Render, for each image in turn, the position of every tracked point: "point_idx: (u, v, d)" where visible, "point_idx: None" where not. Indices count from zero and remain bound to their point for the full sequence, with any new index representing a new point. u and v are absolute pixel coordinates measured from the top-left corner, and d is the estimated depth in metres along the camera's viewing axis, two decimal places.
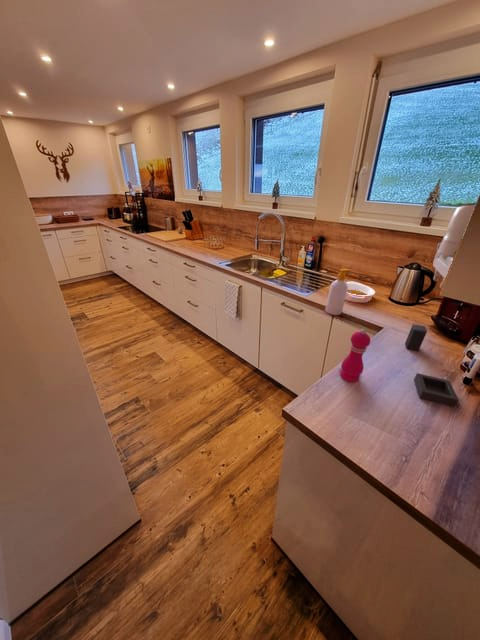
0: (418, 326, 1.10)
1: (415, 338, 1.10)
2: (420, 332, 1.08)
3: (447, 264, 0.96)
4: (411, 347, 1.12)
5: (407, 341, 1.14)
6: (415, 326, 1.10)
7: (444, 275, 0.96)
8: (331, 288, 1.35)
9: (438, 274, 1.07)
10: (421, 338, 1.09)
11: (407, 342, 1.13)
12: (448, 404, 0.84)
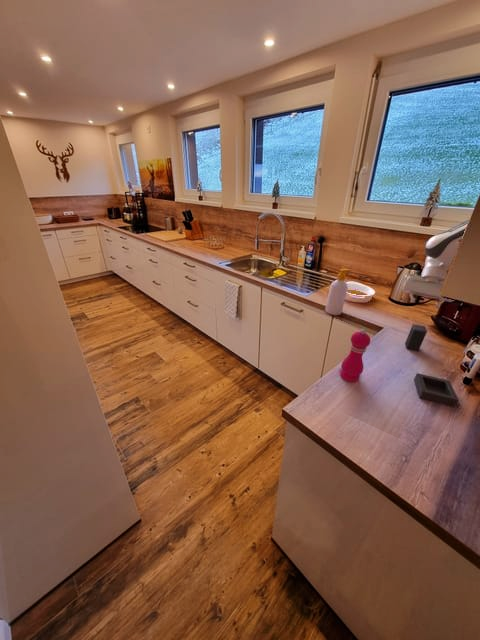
0: (418, 326, 1.10)
1: (415, 338, 1.10)
2: (420, 332, 1.08)
3: None
4: (411, 347, 1.12)
5: (407, 341, 1.14)
6: (415, 326, 1.10)
7: None
8: (331, 288, 1.35)
9: (440, 302, 1.14)
10: (421, 338, 1.09)
11: (407, 342, 1.13)
12: (448, 404, 0.84)
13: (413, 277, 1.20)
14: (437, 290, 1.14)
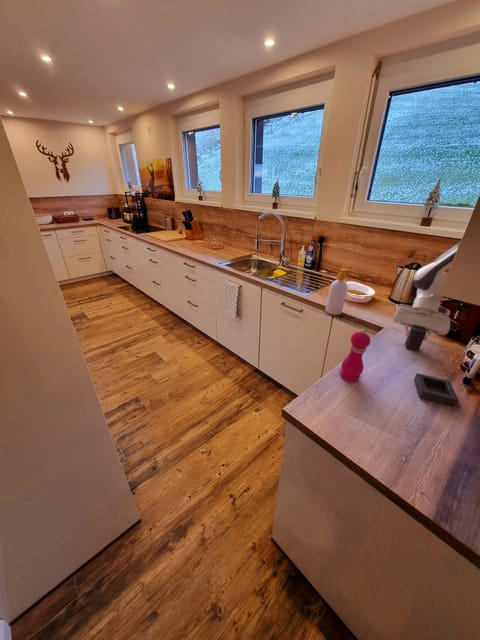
0: (418, 326, 1.10)
1: (415, 337, 1.10)
2: (420, 332, 1.08)
3: None
4: (411, 347, 1.12)
5: (407, 341, 1.14)
6: (415, 326, 1.10)
7: None
8: (331, 288, 1.35)
9: (427, 334, 1.10)
10: (421, 338, 1.09)
11: (407, 342, 1.13)
12: (448, 404, 0.84)
13: (404, 308, 1.15)
14: (428, 323, 1.10)
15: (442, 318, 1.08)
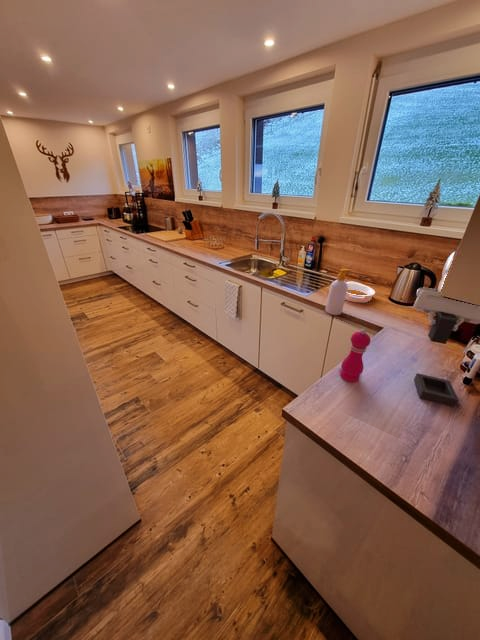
0: (446, 313, 0.90)
1: (442, 327, 0.89)
2: (449, 321, 0.88)
3: None
4: (437, 339, 0.91)
5: (431, 332, 0.93)
6: (442, 313, 0.90)
7: None
8: (331, 288, 1.35)
9: (457, 323, 0.89)
10: (450, 328, 0.89)
11: (431, 333, 0.93)
12: (448, 404, 0.84)
13: (428, 292, 0.95)
14: (459, 309, 0.89)
15: None
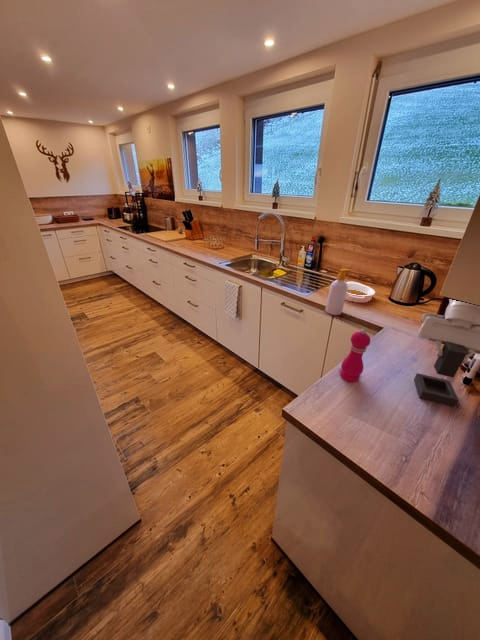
0: (454, 344, 0.81)
1: (450, 360, 0.81)
2: (458, 353, 0.79)
3: None
4: (445, 372, 0.83)
5: (438, 363, 0.85)
6: (451, 344, 0.81)
7: None
8: (331, 288, 1.35)
9: (466, 355, 0.81)
10: (459, 361, 0.80)
11: (438, 365, 0.85)
12: (448, 404, 0.84)
13: (434, 319, 0.86)
14: (469, 340, 0.81)
15: None
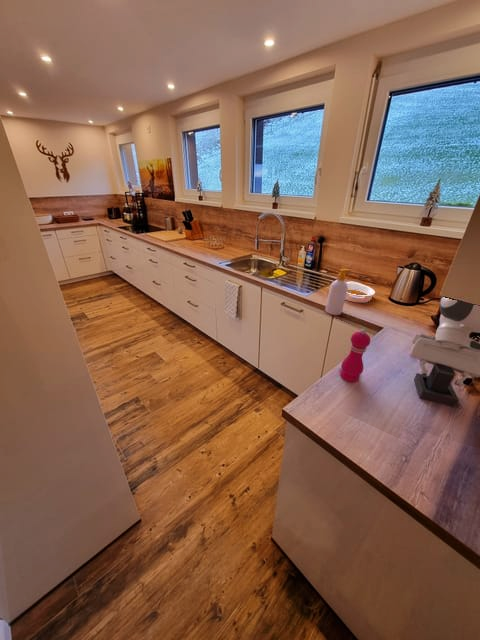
0: (443, 366, 0.85)
1: (439, 381, 0.85)
2: (446, 375, 0.83)
3: None
4: None
5: (428, 383, 0.89)
6: (439, 366, 0.85)
7: None
8: (331, 288, 1.35)
9: (461, 378, 0.84)
10: (447, 382, 0.84)
11: (428, 385, 0.89)
12: (448, 404, 0.84)
13: (425, 340, 0.90)
14: (457, 361, 0.85)
15: (475, 356, 0.83)
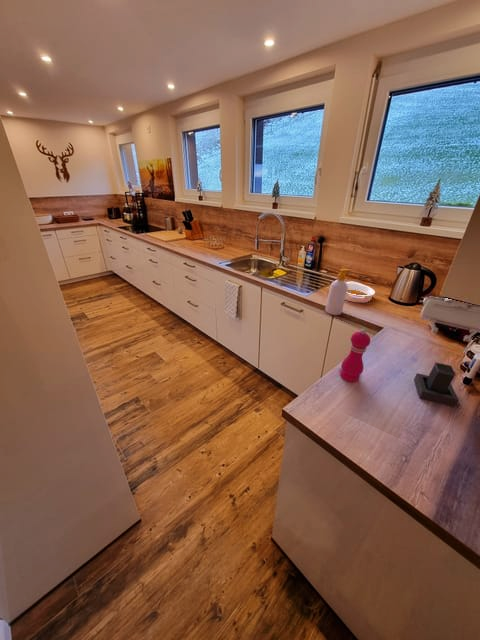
0: (443, 366, 0.85)
1: (439, 381, 0.85)
2: (446, 375, 0.83)
3: None
4: None
5: (428, 383, 0.89)
6: (439, 366, 0.85)
7: None
8: (331, 288, 1.35)
9: (470, 334, 0.89)
10: (447, 382, 0.84)
11: (428, 385, 0.89)
12: (448, 404, 0.84)
13: (434, 301, 0.95)
14: (466, 319, 0.90)
15: None
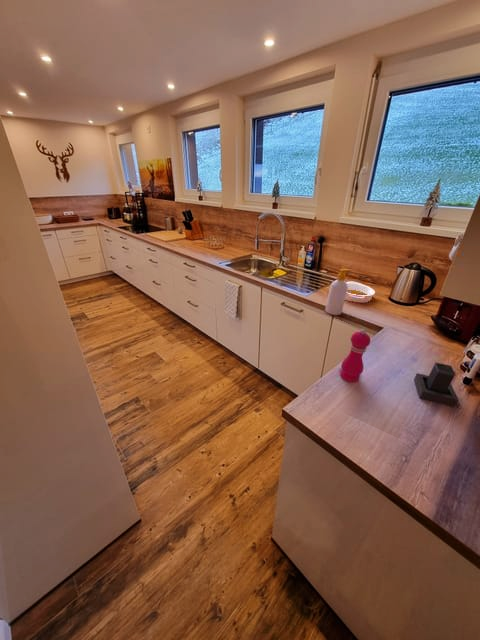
0: (443, 366, 0.85)
1: (439, 381, 0.85)
2: (446, 375, 0.83)
3: None
4: None
5: (428, 383, 0.89)
6: (439, 366, 0.85)
7: None
8: (331, 288, 1.35)
9: None
10: (447, 382, 0.84)
11: (428, 385, 0.89)
12: (448, 404, 0.84)
13: None
14: None
15: None
